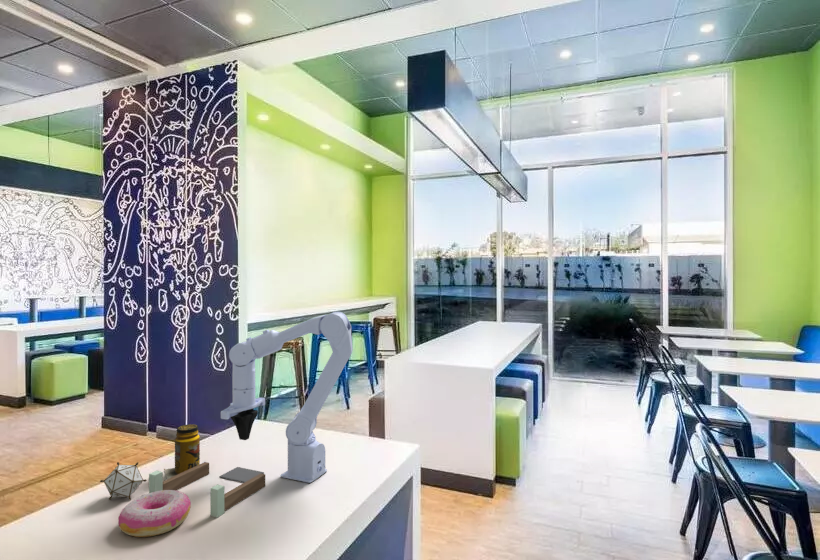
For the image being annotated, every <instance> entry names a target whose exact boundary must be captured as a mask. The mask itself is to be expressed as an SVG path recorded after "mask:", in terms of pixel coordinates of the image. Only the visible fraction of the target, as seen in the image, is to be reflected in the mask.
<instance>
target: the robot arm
mask: <svg viewBox="0 0 820 560" xmlns="http://www.w3.org/2000/svg"><path fill="white" fill-rule="evenodd" d="M308 334H312V335H313V334H314V335H318V336H319V335H321V334H322V335H323V336H324V338H326V340H327V341H328V342H329V345H330V348H331V351H332V353H331V355H330V356H329V359H328V360H327V362H326V364H325V366H324V367H323V370H322V371H321V373H320V375H319V376H318V378H317V380H316V382H315V383H314V385H313V387H312V389H311V390H310V393H309V395H308V397H307V398H306V400H305V402H304V404H303V406H302V407H301V408H300V411H298V413H296V414H295V415H294V417H293V419H292V420H291V422H289V423H288V424H287V425H286V428H285V437H286V439H287V470H286V471H285V472H283V473H281V474H279V475H280V477H281V478H284V479H289V480H294V481H299V482H303V483H310V484H311V483H313V481H315V480H317V479H318V478H320V477H321V476H323V475H325V474H326V473H327V472H328V469H326V446H325V444H324V443H321V442H319V441H317V439H316V438H317V437H316V435H315V433H314V432H313V431H314V430H315V428H316V427H317V422H318V415H319V414H320V412H321V410H322V408H323V406H324V404H325V403H326V401H327V399H328V397H329V395H330V393H331V391H332V390H333V388H334V387H335V384H336V382H337V381H338V379H339V377H340V375H341V374H342V371H343V369H344V368H345V367H346V364H347V362H348V361H349V359H350V357H351V355H352V353H353V350H354V349H353V338H352V325H351V322H350V320H349V319H348V316H347V315H346V314H345V313H344V312H343V311H334V312H333V311H332V312H331V313H329V314H322V315H318V316H314V317H311V318H309V319H307V320H305V321H302V322H300V323H297V324H295V325H293V326H291V327H288V328H286V329H283V330H281V331H277V330H275V329H271V330H270V329H266V330H263V331H262V333H261V334H259V335H257V336H255V337H251V336H250V337H247V338H246V339H245V341H241V342H238V343H236V344H235V345H233V346H232V347H231V348H230V350H229V353H228V359H229V360H230V362H231V363H232V380H231V381H232V402H230V403H229V406H228V407H226V408H224V409H223V410H221V411H220V419H221V420H227V421H228V420H229V419H231V420H232V421H233V424H234V426H235V428H236V431H237V435H238V438H239V440H243V441H247V440H249V439H250V435H251V432H252V428H253V425H254V422H255V420H256V418H257V416H258V414H259V410H257V409H256V408H258V407H260V406H263V407H264V406H265V405H266V398H265V397H261V396H260V397H257V398H256V359H257V360H259V359H261V358H263V357H266V356H269V355H272V354H274V353H276V352H278V351H281V350H282V348H283V346H284V344H285V343H287V342H290V341H292V340H295V339H298V338H300V337H303V336H305V335H306V336H307V335H308Z"/></svg>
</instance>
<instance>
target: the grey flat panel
mask: <svg viewBox="0 0 820 560" xmlns="http://www.w3.org/2000/svg"><path fill="white" fill-rule="evenodd" d="M260 473H261V474H265V472H264V471H260V470H255V469H249V468H245V467H241V466H237V467H236V466H235V468H233V469H231V470H229V471H226V472H225V473H223V474H222V475H220V476H218V477H219V478H220V479H224V480H228V481H229V480H230V481H235V482H239V483H241V484H243V483H245V482H246V481H248V480H250V479H252V478H253V477H255V476H257V475H259V474H260Z"/></svg>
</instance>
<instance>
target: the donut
mask: <svg viewBox="0 0 820 560" xmlns="http://www.w3.org/2000/svg"><path fill="white" fill-rule="evenodd" d="M190 512H191V499H190V498H189V496H188V495H187V493H184V492H182V491H180V490H162V491H156V492H152V493H149V492H148V493H146V494H144V495H141V496H138V497H136V498H135V499H133V500H130V502H129V503H127V504H126V505H125V506H124V507H123V508H122V509H121V511H120V513H119V516H118V519H117V520H118V527H119V529H120V531H121V532H123V533H125V534H126V535H129V536H132V537H134V538H135V537H136V538H147V537H154V536H159V535H163V534H165V533H167V532H171V531H172V530H174V529H175V528H176V529H177V527H179V526H180V525H181V524H182V523H183V522H184V521H185V520H186V519H187V517H189V514H190Z"/></svg>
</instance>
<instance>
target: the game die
mask: <svg viewBox="0 0 820 560" xmlns="http://www.w3.org/2000/svg"><path fill="white" fill-rule="evenodd" d="M138 465H139V462H138V461H137V462H136V463H135V464H120V462H119V461H117V462H116V467H115V468H114V469H113V470H112V471H111V472H110V473H109V475H107V477H105V478H104V479H101V480H99V482H100V483H104V485H105V487H106V489H107V491H108V493H109V495H110V496H109V498H108V501H110V500H112V499H113V498H128V501H132V500H131V499H132V497H131V496H132V495H133V494H134V493H135V491H136V490H137V489H138V488H139V487H140V486H141V484H142V483H143V482H147V481H148V480H147V479H145V478H143V477H142V475H141V473H140V470H139V468H138Z"/></svg>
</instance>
